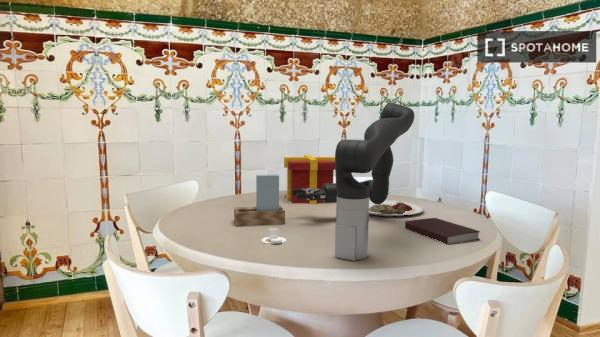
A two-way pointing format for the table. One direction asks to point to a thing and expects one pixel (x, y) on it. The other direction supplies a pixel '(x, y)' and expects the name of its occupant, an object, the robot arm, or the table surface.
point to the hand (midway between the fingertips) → (294, 194)
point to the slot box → (258, 216)
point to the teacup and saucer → (274, 237)
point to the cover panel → (267, 192)
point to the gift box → (308, 174)
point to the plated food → (393, 208)
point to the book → (442, 230)
